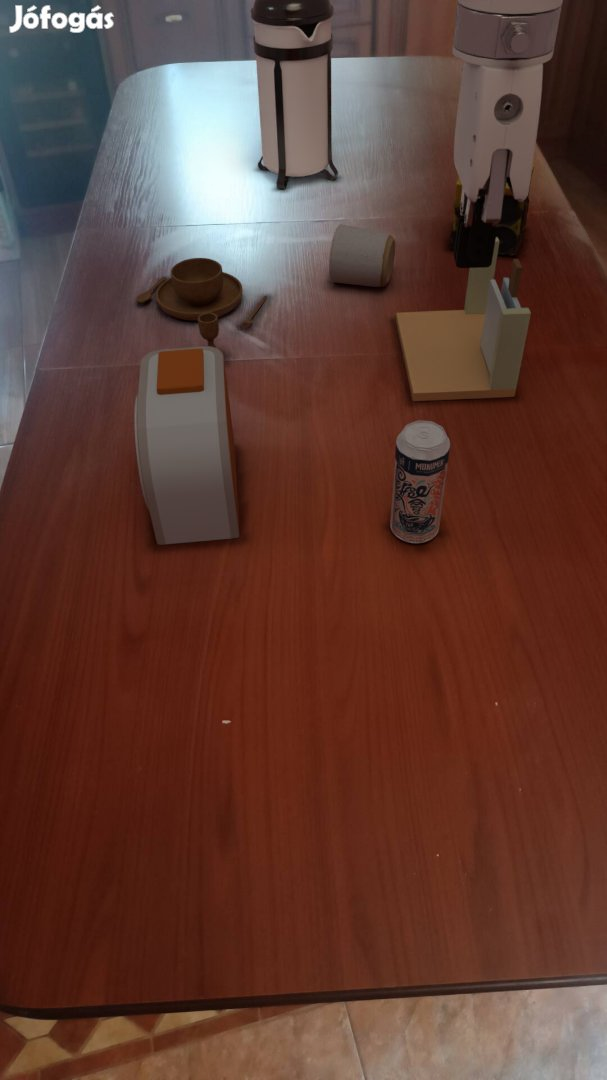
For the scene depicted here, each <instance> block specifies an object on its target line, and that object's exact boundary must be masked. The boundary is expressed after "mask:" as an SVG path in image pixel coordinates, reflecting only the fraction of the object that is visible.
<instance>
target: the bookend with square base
mask: <svg viewBox="0 0 607 1080" xmlns="http://www.w3.org/2000/svg"><path fill="white" fill-rule="evenodd" d="M498 248H499V239H498V237H496V240H495V246H494V252H493V258H492V264H491V266H490V267H486V268H468V269H469V270H468V277H467V285H466V292H465V302H464V307H463V308H464V309H450V310H427V311H426V310H425V311H424V310H423V311H405V312H404V311H403V312H395V323H396V328H397V329H396V330H397V334H398V338H399V343H400V347H401V353H402V357H403V362H404V366H405V372H406V376H407V381H408V385H409V386H408V387H409V390H410V395H411V400H412V402H429V401H430V402H431V401H454V400H455V401H456V400H474V399H475V400H476V399H496V398H497V399H500V398H515V395H516V391H517V386H518V383H519V376H520V370H521V366H522V361H523V355H524V352H525V351H524V350H525V345H526V341H527V335H528V331H529V326H530V319H531V315H532V312H531V310H530V309H529V307H521V308H509V309H507V308H506V305H505V303H504V300H503V298H502V296H501V290H500V289H499V286H498V283H497V281H496V279H495V273H496V266H497V262H498V261H497V260H498V255H499V254H498Z"/></svg>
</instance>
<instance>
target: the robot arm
mask: <svg viewBox="0 0 607 1080" xmlns="http://www.w3.org/2000/svg"><path fill="white" fill-rule="evenodd" d="M563 3H564V0H457V4H456V12H455V21H454V22H455V23H454V31H453V41H452V49H451V51H452V56H454V58H456V59H459V60H460V61H461V62H463V66H462V67H461V68H462V69H461V71H462V74H461V81H460V87H459V94H458V95H459V96H458V103H457V111H456V120H455V129H454V139H453V140H454V141H453V162H454V163H453V164H454V166H455V171H456V173H457V176H458V178H459V179H460V182H461V184H462V195H461V206H460V214H461V216H465V217H459V218H458V226H457V234H456V242H455V249H453V250H454V251H453V259H454V262H455V263H454V264H455V266H456V267H457V268H458V269H470V268H486V267H490V266H491V264H492V258H493V252H494V246H495V240H496V234H497V228H498V222H500V220H501V213H502V203H503V197H504V192H505V188H506V183H507V184H508V186H509V188H510V190H511V193H512V195H513V197H514V199H517V201H518V202H522V201H524V200H525V199H526V198H527V196H528V193H529V194H530V190H529V187H530V188H531V183H530V180H531V181H532V177H531V173H532V166H533V162H534V159H535V153H536V152H535V151H536V144H537V137H538V129H539V123H540V113H541V102H542V93H543V76H544V75H543V74H544V64H545V63H547V62H549V61H551V59H553V56H554V51H555V45H556V39H557V35H558V29H559V24H560V19H561V13H562V6H563ZM532 174H533V173H532Z"/></svg>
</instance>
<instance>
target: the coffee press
mask: <svg viewBox="0 0 607 1080" xmlns="http://www.w3.org/2000/svg"><path fill="white" fill-rule="evenodd" d="M334 13H335V12H334V5H333V4H331V1H330V0H254V2H253V7H251V9H250V18H251V20H252V22H253V30H254V31H253V32H254V36H253V39H252V40H253V52H254V54H255V59H256V60H255V62H256V63H255V65H256V78H257V79H256V80H257V92H258V93H257V95H258V110H259V124H260V138H261V154H262V155H261V157H260V159H259V160H258V162H257V167H258V169H259V170H260V171H265V170H266V169H267V170H268V171H269V172H272V173H273V174H276V175H277V179H276V189H280V190H281V189H282V190H286V189H287V187H288V184H289V181H290V178H291V177H293V178H294V177H305V176H306V177H307V176H312V175H315V174H318V173H323V175H325V177H326V178H327V179H329V180H330V181H333V180H335V179H336V178H337V177H338V176H339V171H338V169H337V168H336V166H335V164H334V162H333V152H332V151H333V147H332V140H333V139H332V135H333V133H332V130H333V129H332V50H333V48H334V47H333V43H334V42H333V37H334V35H333V33H332V18H333V16H334ZM262 162H263V163H262ZM328 166H329V169H330V170H331V171H332V173H333V174H334V175H332V174H331V173H330V171H329V170H328V169H327V167H328Z"/></svg>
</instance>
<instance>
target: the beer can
mask: <svg viewBox="0 0 607 1080" xmlns="http://www.w3.org/2000/svg"><path fill="white" fill-rule="evenodd" d="M450 449H451V441H450V439H449V437H448V436H447V433H446V431H445V429H444V427H443V426H442V425H439V424H438V423H436V422H434V421H430V420H419V419H417V420H415V421H413V422H410V423H407V424H406V425H405V426H404V428H403V429H402V430H401V432H400V433H399V434H398V435H397V437H396V440H395V450H394V451H395V452H394V467H393V481H392V494H391V495H392V496H391V510H390V520H389V521H390V525H389V526H390V530H391V532H392V534H393V535H394V536H395V537H396V538H398V539H400V540H401V541H403V542H406V543H411V544H423V543H426V542H429V541H431V540H433V539H434V538H435V537H436V536H437V535H438V533H439V530H440V526H441V517H442V509H443V502H444V495H445V487H446V479H447V474H448V473H447V472H448V465H449V457H450V451H451V450H450Z"/></svg>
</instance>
